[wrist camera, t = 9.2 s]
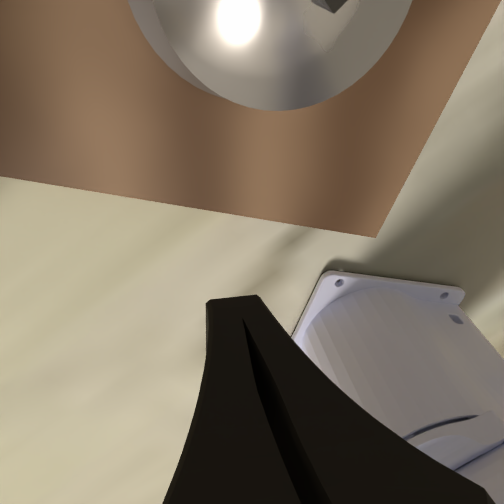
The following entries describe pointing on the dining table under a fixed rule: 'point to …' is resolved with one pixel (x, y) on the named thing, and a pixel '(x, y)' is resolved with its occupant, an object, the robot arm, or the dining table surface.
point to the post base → (218, 116)
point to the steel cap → (280, 45)
